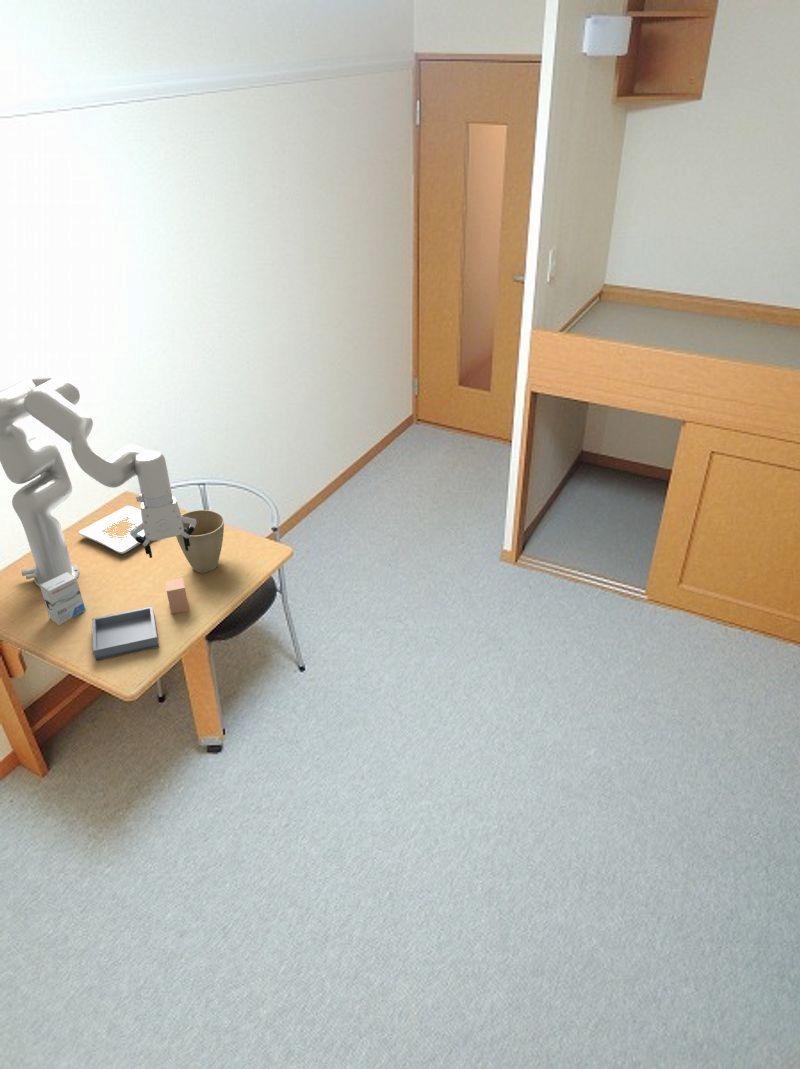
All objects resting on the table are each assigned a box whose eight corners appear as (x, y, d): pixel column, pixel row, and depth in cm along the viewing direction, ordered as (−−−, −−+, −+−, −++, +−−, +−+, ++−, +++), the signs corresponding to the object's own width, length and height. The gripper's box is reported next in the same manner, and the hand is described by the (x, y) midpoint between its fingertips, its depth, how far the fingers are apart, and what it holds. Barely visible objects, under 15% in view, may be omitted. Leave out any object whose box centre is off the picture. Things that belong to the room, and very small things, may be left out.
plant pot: (192, 586, 224) (184, 541, 215) (173, 562, 234) (165, 519, 225) (238, 569, 231) (232, 525, 223) (217, 547, 241) (211, 504, 233)
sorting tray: (95, 660, 196) (93, 650, 194) (94, 628, 207) (91, 618, 205) (159, 647, 201) (156, 637, 199) (154, 615, 212) (152, 606, 210)
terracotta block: (171, 613, 213) (166, 591, 208) (169, 603, 217) (164, 581, 212) (189, 610, 214) (184, 587, 210) (187, 599, 218) (182, 577, 214)
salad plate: (173, 530, 251) (172, 521, 249) (123, 560, 235) (121, 551, 234) (130, 512, 260) (128, 503, 258) (78, 540, 245) (76, 531, 243)
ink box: (76, 603, 216) (67, 570, 210) (86, 610, 214) (76, 577, 207) (49, 618, 211) (38, 584, 204) (58, 625, 208) (47, 591, 202)
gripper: (123, 510, 191) (136, 565, 200) (192, 498, 196) (202, 552, 205) (122, 496, 197) (135, 551, 206) (189, 485, 202) (199, 538, 211)
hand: (168, 551), depth 205 cm, fingers open, 9 cm apart
